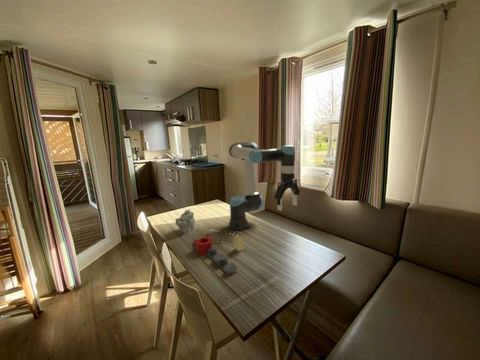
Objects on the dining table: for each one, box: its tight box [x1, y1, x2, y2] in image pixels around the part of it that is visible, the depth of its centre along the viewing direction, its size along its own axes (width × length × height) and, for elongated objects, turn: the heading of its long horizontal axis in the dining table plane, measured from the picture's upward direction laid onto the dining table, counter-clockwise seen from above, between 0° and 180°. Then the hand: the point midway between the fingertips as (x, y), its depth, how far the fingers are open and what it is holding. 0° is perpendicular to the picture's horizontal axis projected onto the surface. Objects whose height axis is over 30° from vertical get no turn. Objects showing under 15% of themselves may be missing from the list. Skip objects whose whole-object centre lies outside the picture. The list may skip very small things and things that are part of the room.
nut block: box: [233, 235, 245, 253], centre depth 125 cm, size 4×4×8 cm
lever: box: [193, 236, 214, 255], centre depth 129 cm, size 18×9×7 cm, turn 37°
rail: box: [206, 246, 237, 276], centre depth 112 cm, size 24×5×4 cm, turn 35°
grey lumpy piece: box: [174, 208, 196, 235], centre depth 151 cm, size 15×14×17 cm
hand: (287, 207), depth 122 cm, fingers open, 13 cm apart
